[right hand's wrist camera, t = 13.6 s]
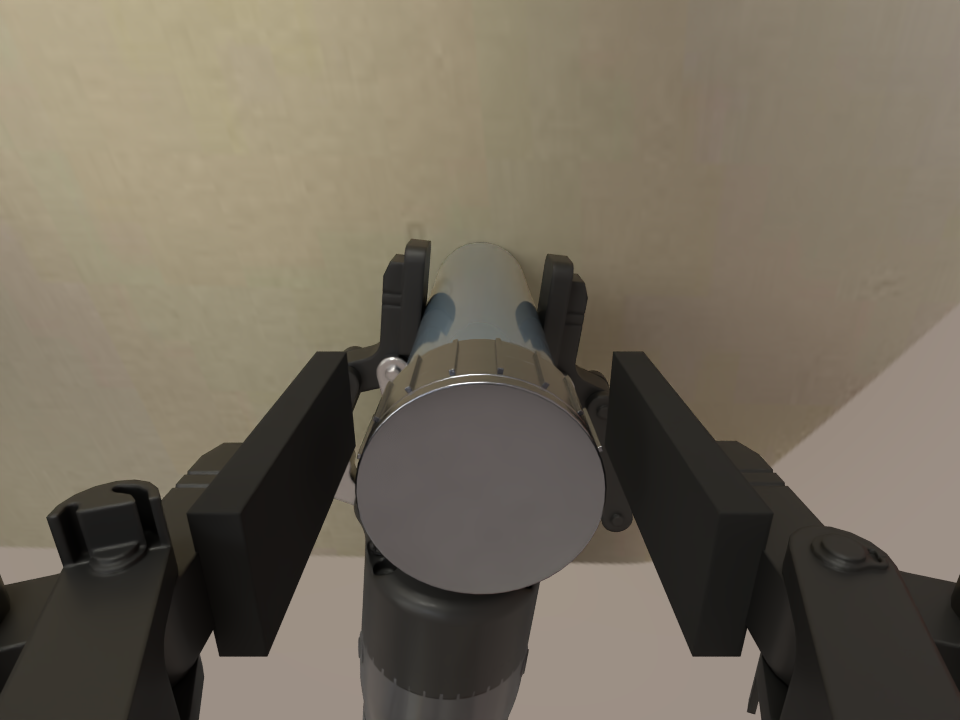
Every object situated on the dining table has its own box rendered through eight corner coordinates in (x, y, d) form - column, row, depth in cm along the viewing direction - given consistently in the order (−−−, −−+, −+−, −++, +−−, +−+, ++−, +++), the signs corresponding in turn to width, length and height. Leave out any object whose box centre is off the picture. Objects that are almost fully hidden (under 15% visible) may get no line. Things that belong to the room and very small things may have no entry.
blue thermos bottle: (425, 253, 25) (343, 409, 10) (516, 233, 25) (570, 363, 10) (447, 338, 26) (404, 585, 11) (533, 320, 26) (603, 550, 11)
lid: (345, 360, 12) (314, 408, 9) (569, 312, 11) (590, 351, 9) (405, 539, 13) (390, 615, 11) (602, 503, 13) (626, 574, 11)
